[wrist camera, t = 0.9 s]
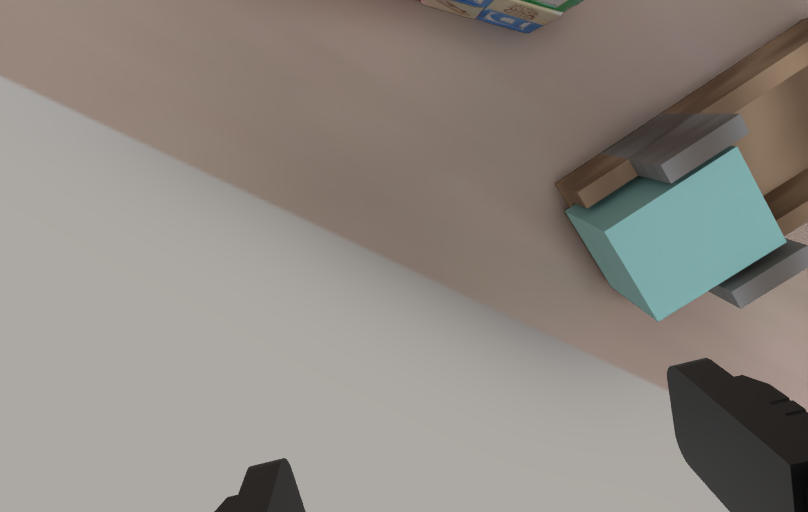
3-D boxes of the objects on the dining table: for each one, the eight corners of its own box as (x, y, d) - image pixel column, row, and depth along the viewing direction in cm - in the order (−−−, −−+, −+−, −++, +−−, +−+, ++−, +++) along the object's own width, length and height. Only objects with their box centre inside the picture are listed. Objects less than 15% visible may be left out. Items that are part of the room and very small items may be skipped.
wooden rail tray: (804, 19, 32) (927, -9, 25) (862, 144, 34) (993, 153, 27) (554, 183, 34) (603, 202, 27) (622, 295, 36) (685, 342, 28)
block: (673, 140, 33) (737, 146, 27) (716, 219, 34) (786, 242, 28) (564, 211, 33) (604, 231, 27) (610, 286, 34) (657, 321, 29)
